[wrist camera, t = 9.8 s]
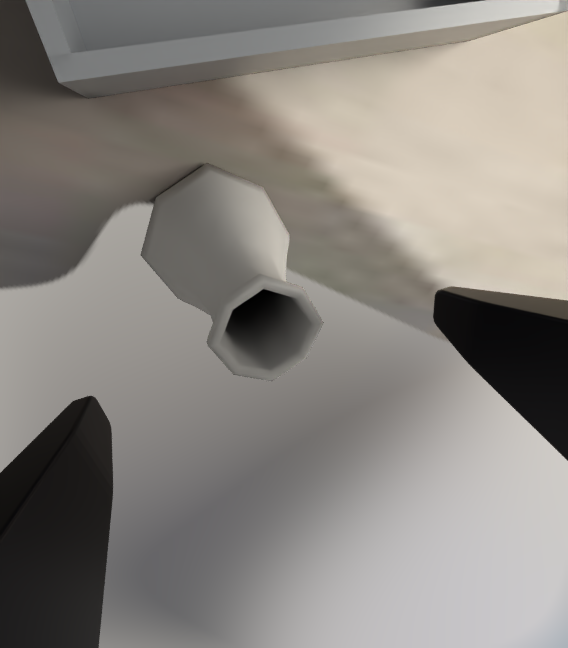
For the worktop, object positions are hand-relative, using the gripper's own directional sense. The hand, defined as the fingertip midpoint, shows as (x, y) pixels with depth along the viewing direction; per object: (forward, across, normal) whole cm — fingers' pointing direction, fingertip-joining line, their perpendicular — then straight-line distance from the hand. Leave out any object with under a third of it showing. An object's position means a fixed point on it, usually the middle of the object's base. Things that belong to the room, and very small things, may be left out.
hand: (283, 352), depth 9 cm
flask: (+11, 0, 0) cm, 11 cm away
